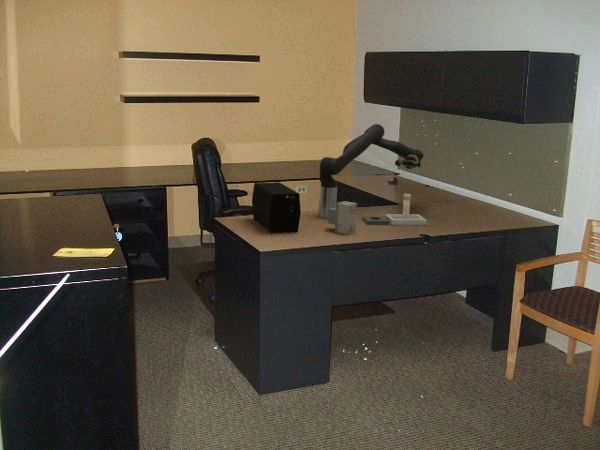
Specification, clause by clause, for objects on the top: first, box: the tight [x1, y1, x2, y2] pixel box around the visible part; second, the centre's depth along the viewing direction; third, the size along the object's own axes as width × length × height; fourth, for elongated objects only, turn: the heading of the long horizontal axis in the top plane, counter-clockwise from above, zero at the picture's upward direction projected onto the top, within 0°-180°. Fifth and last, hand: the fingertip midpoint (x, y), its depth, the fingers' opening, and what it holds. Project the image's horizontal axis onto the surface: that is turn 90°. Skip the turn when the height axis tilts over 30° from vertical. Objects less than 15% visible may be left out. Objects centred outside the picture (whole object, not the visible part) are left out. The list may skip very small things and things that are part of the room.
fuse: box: [402, 193, 412, 219], centre depth 364 cm, size 4×4×15 cm
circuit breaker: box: [327, 200, 358, 235], centre depth 340 cm, size 8×14×15 cm, turn 56°
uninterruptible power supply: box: [251, 181, 302, 235], centre depth 344 cm, size 16×34×20 cm, turn 20°
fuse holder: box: [361, 215, 390, 226], centre depth 363 cm, size 12×12×2 cm
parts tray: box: [384, 213, 428, 226], centre depth 365 cm, size 20×14×3 cm
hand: (406, 165), depth 371 cm, fingers open, 8 cm apart
